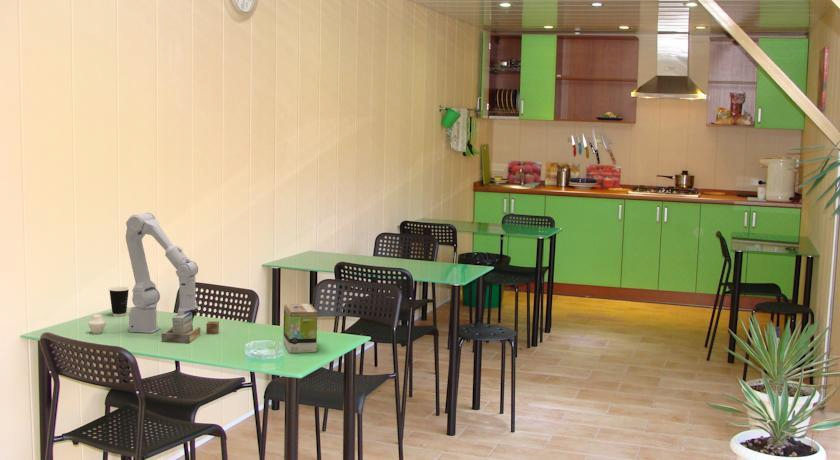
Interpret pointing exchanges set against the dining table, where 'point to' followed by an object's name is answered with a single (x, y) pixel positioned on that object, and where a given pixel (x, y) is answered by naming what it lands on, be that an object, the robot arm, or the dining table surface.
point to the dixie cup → (119, 300)
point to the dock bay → (180, 336)
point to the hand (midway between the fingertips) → (187, 330)
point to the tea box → (300, 328)
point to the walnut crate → (212, 327)
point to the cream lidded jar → (97, 324)
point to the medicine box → (183, 323)
